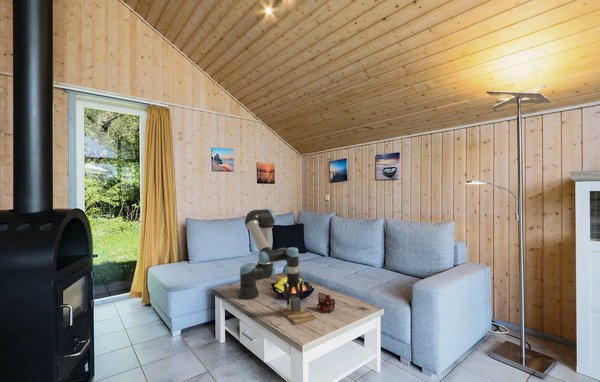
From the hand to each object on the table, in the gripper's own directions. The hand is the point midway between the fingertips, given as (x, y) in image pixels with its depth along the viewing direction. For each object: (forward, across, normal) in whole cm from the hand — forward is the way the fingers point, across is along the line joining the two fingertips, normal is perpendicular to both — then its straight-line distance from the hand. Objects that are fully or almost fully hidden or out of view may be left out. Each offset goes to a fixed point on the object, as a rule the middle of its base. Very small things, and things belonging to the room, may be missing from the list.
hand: (293, 308), depth 187 cm
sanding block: (+1, 0, 0) cm, 1 cm away
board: (+3, 0, -4) cm, 5 cm away
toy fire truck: (+3, +20, -6) cm, 21 cm away
